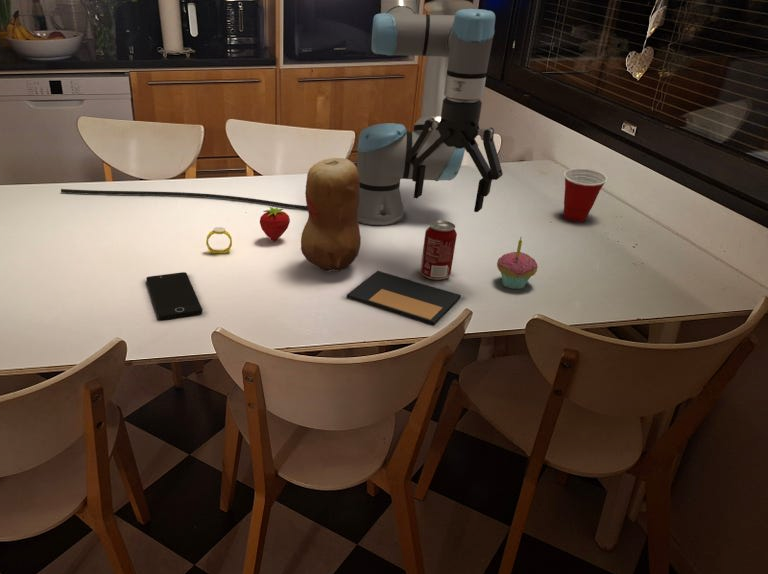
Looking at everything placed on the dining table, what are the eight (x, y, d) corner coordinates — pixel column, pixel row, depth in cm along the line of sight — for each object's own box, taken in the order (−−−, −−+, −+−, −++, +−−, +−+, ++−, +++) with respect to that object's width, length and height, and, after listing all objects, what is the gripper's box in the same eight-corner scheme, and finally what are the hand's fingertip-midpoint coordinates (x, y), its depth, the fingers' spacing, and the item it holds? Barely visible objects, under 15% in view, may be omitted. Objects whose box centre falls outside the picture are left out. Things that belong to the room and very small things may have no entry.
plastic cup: (552, 222, 182) (562, 178, 175) (555, 208, 190) (565, 165, 183) (595, 228, 178) (608, 184, 172) (596, 214, 187) (608, 171, 180)
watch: (206, 255, 161) (205, 231, 158) (206, 250, 163) (205, 227, 160) (232, 254, 162) (231, 231, 158) (231, 249, 164) (231, 226, 161)
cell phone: (159, 320, 136) (158, 316, 135) (146, 280, 150) (145, 276, 149) (203, 313, 138) (202, 309, 137) (186, 275, 152) (185, 271, 152)
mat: (346, 297, 145) (346, 294, 144) (377, 273, 155) (377, 270, 154) (433, 325, 136) (434, 321, 135) (460, 298, 145) (461, 294, 145)
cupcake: (526, 296, 146) (538, 245, 140) (487, 286, 150) (498, 235, 143) (537, 281, 152) (549, 231, 146) (499, 272, 156) (510, 222, 149)
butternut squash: (291, 261, 159) (293, 154, 145) (342, 252, 164) (349, 147, 150) (316, 286, 149) (321, 174, 135) (370, 276, 153) (380, 166, 139)
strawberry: (293, 244, 167) (293, 205, 162) (263, 248, 165) (263, 208, 160) (285, 235, 172) (285, 196, 166) (256, 238, 170) (256, 200, 164)
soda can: (449, 283, 151) (458, 232, 144) (419, 280, 152) (425, 229, 145) (450, 270, 157) (458, 220, 150) (420, 267, 158) (427, 218, 151)
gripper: (396, 93, 136) (386, 196, 148) (519, 111, 125) (498, 221, 137) (412, 87, 142) (401, 186, 153) (532, 104, 130) (510, 210, 142)
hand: (447, 203), depth 145 cm, fingers open, 13 cm apart
